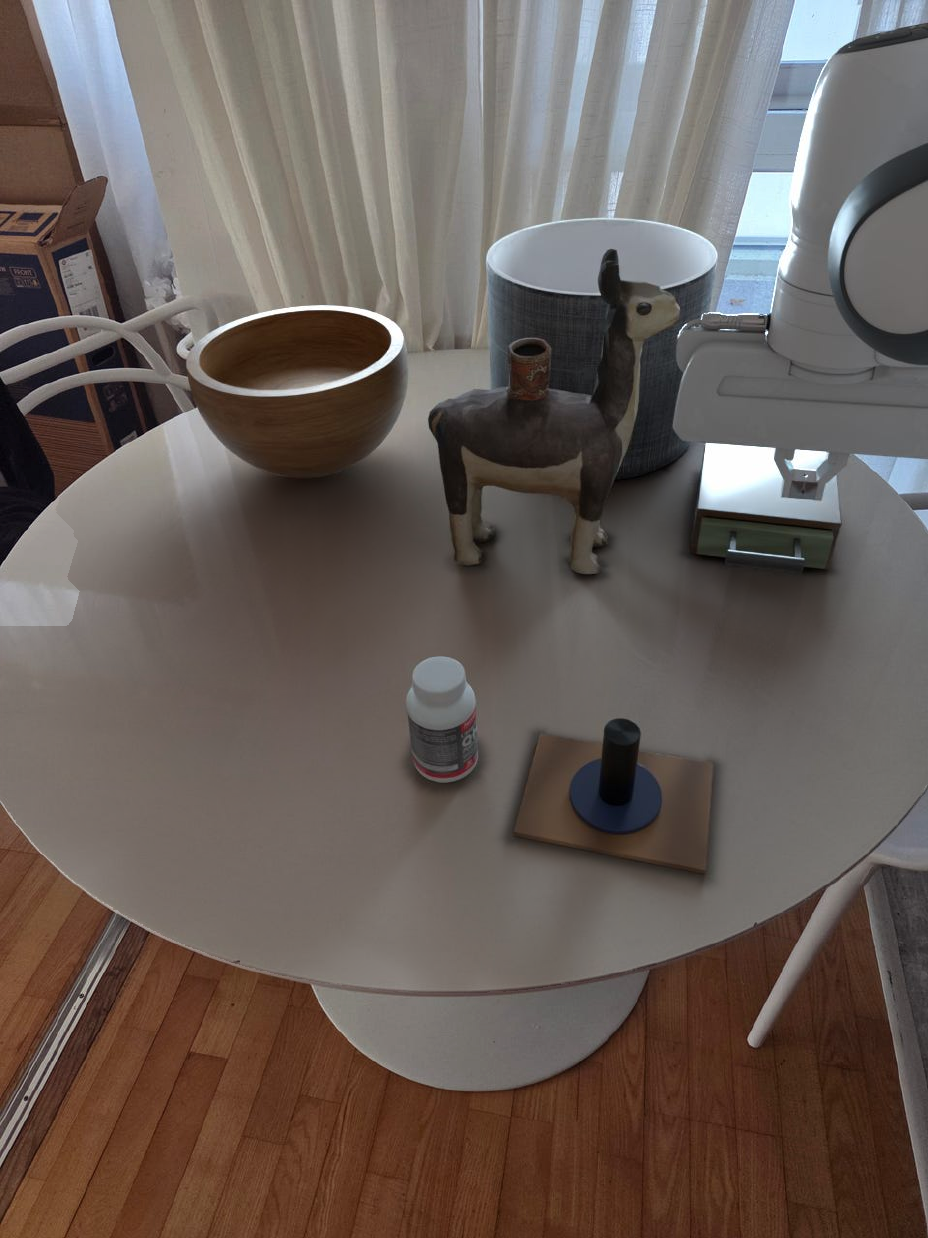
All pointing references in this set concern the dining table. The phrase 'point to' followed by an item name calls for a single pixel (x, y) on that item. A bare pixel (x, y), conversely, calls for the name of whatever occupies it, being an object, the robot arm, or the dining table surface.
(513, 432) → the figurine
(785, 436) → the robot arm
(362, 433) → the bowl
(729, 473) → the cabinet
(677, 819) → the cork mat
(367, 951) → the dining table surface
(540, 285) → the planter
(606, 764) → the lid
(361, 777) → the dining table surface
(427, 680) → the pill bottle
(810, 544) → the drawer
